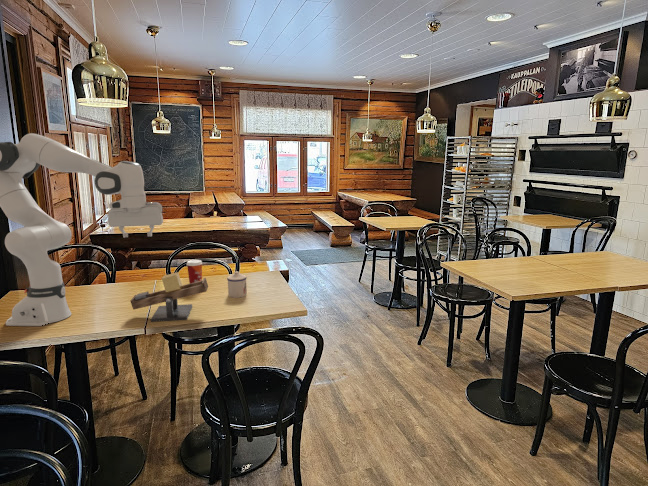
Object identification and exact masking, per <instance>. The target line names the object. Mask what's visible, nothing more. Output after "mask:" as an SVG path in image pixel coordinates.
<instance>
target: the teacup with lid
mask: <svg viewBox="0 0 648 486" xmlns="http://www.w3.org/2000/svg"><path fill="white" fill-rule="evenodd" d="M226 280H227V292H228V297H229V298H234V299H236V298H237V299H239V298H240V299H241V298H244V297H245V296H247V292H248V291H247V289H248V288H247V276H246V275H245V274H242V273H240V272H239V271H237V270H236V271H234V273H233V274H229V276H227V278H226Z"/></svg>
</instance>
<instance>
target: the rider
mask: <svg viewBox="0 0 648 486" xmlns="http://www.w3.org/2000/svg"><path fill="white" fill-rule="evenodd" d="M161 282H162V284H163V287H164V290H165V291H166V293H170V292H174V291H178V290H182V289H183V286H182V285H183V283H182V280H181V277H180V274H179V272H178V271H177V272H173V273H170V274H165V275H163V276H162V277H161Z"/></svg>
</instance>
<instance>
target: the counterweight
mask: <svg viewBox="0 0 648 486" xmlns="http://www.w3.org/2000/svg"><path fill="white" fill-rule="evenodd" d="M149 294H150V292H149V291H145V292H144V291H143V292H140V293H137V294H135V295H136V296H135V295H134V296H135V300H136V301H137V300H141V299H145V298H149V297H150V295H149Z"/></svg>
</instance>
